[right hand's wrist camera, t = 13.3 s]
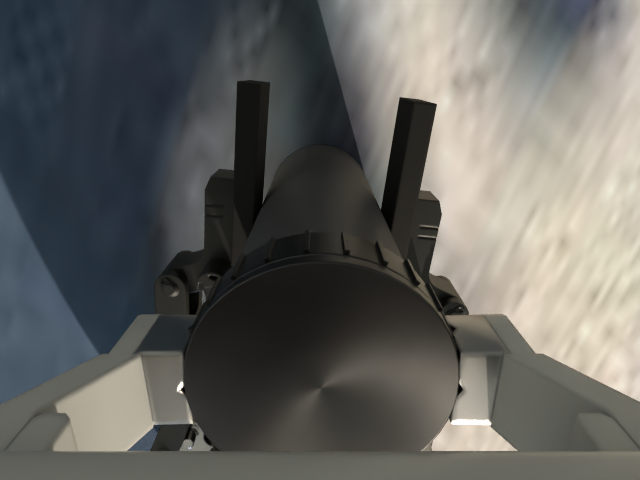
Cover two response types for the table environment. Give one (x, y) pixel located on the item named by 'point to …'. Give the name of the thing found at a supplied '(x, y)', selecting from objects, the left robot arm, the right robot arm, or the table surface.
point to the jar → (320, 200)
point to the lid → (321, 351)
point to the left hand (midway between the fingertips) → (336, 92)
